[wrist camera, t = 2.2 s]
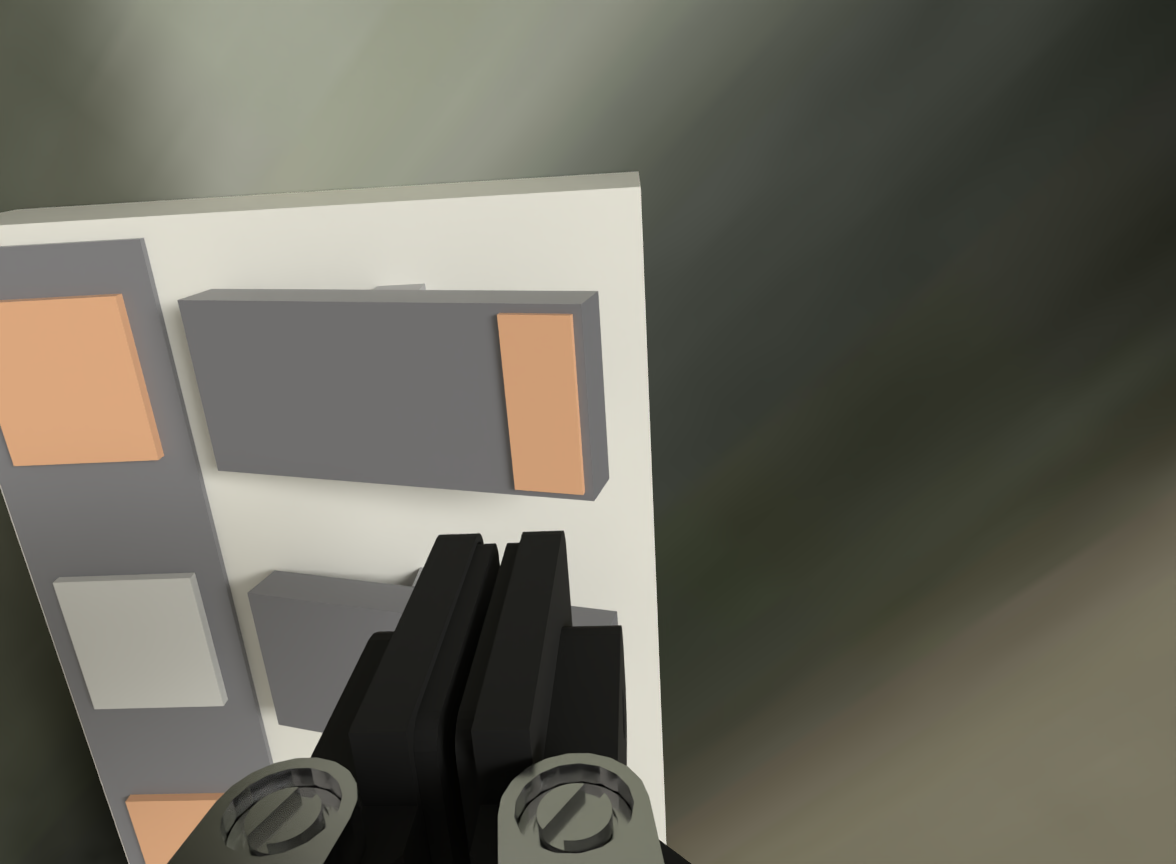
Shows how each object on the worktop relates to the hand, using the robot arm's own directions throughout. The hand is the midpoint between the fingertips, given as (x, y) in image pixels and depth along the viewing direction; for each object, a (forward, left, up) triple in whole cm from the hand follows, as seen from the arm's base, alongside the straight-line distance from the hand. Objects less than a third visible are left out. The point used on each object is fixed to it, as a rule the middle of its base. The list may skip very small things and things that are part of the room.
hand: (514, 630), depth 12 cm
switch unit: (+8, -7, -15) cm, 18 cm away
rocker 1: (0, -4, -9) cm, 10 cm away
